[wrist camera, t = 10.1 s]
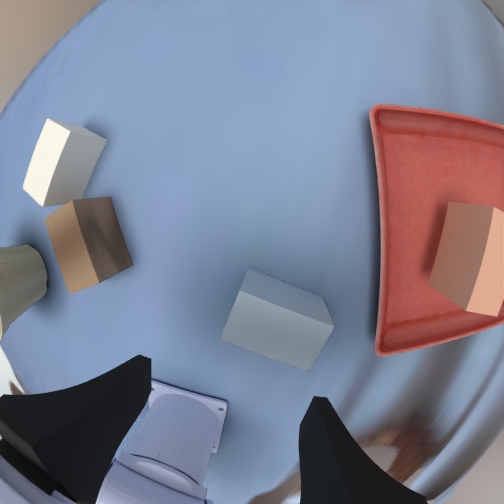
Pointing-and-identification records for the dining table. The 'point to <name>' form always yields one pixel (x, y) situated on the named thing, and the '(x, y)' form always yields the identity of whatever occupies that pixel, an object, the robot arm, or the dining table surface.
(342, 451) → the robot arm
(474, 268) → the terracotta brick
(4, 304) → the flower pot
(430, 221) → the plant saucer
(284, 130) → the dining table surface
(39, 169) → the cream brick
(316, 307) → the slate-blue brick
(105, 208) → the walnut brick
